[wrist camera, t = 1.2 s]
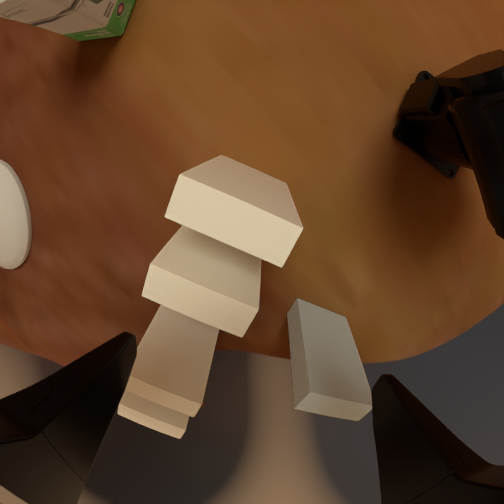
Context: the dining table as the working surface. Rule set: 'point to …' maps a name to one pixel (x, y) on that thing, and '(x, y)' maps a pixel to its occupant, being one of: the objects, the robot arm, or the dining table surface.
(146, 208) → the dining table surface
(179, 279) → the domino
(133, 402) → the domino
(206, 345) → the domino
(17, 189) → the candlestick
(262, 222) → the domino
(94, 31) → the ink box
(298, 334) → the domino
